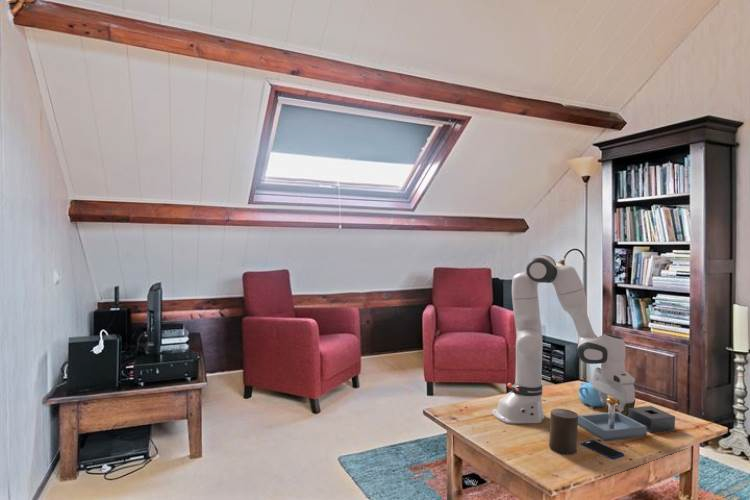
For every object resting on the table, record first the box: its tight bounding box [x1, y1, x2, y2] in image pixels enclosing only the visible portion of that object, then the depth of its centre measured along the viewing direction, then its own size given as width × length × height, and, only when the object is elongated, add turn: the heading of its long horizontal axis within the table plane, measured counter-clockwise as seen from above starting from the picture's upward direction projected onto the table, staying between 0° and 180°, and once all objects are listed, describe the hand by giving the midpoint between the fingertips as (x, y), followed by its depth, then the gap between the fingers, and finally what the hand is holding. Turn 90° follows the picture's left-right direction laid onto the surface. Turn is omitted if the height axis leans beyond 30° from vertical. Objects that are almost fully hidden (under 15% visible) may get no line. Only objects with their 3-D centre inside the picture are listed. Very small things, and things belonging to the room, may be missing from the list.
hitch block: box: [627, 405, 676, 434], centre depth 198 cm, size 12×12×6 cm
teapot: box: [578, 380, 609, 409], centre depth 223 cm, size 13×14×11 cm
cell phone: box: [580, 439, 625, 460], centre depth 176 cm, size 7×14×1 cm, turn 28°
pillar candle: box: [548, 408, 579, 455], centre depth 176 cm, size 10×10×15 cm
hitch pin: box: [607, 396, 618, 429], centre depth 193 cm, size 4×4×12 cm
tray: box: [578, 411, 648, 442], centre depth 193 cm, size 20×16×4 cm
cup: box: [616, 398, 636, 417], centre depth 210 cm, size 8×7×8 cm
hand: (611, 406), depth 193 cm, fingers open, 8 cm apart
